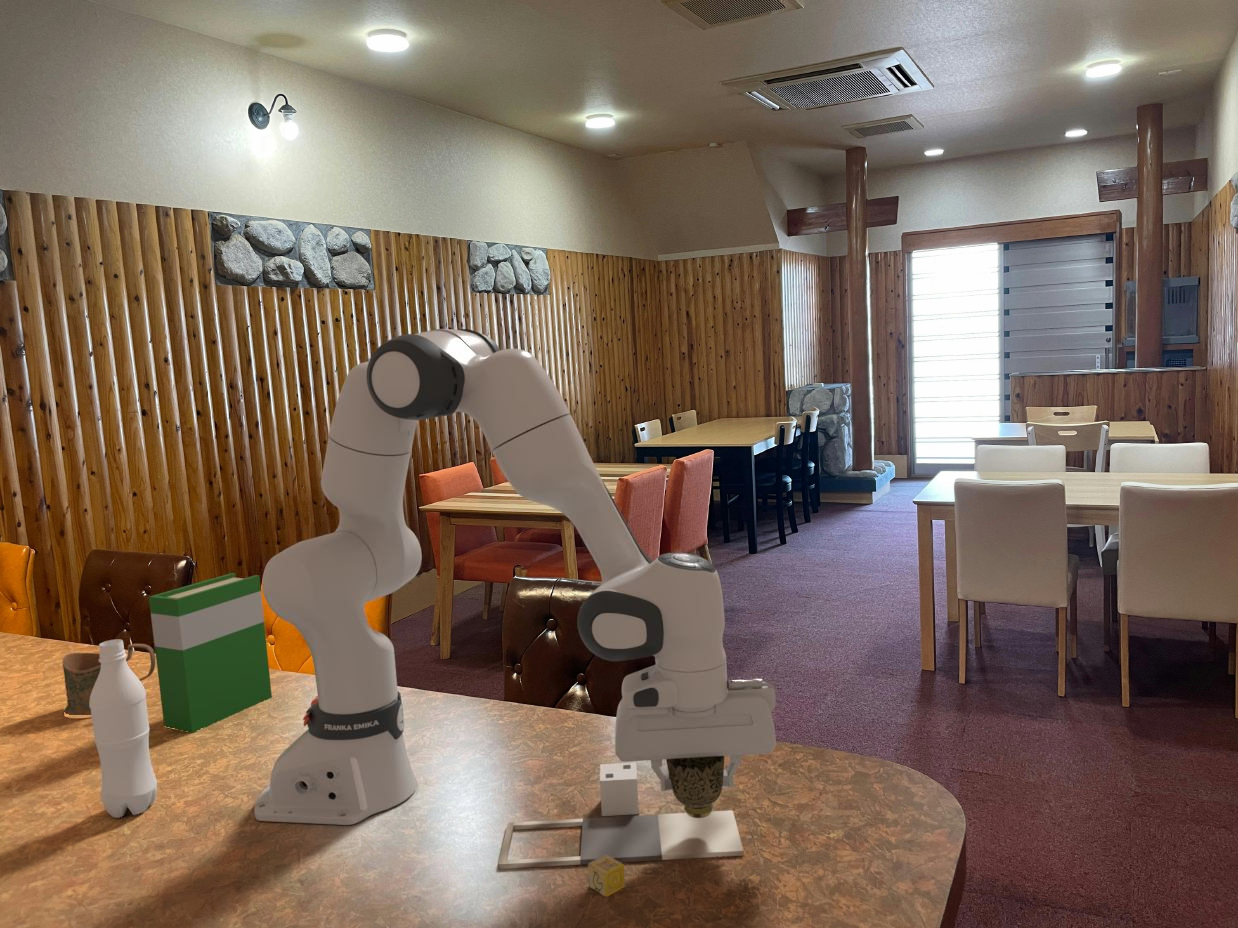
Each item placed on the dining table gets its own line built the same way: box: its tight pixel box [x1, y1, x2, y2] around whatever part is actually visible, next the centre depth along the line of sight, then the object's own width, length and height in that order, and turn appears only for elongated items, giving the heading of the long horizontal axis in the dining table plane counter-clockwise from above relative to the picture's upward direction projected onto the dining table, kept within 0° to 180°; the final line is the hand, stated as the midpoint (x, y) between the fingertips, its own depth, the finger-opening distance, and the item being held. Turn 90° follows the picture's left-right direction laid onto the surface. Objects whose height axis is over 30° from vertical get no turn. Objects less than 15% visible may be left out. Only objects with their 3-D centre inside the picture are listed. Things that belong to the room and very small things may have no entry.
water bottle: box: [89, 638, 158, 819], centre depth 131 cm, size 7×7×25 cm
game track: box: [498, 809, 745, 870], centre depth 116 cm, size 30×10×1 cm, turn 90°
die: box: [599, 761, 640, 817], centre depth 125 cm, size 5×5×5 cm
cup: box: [665, 756, 725, 818], centre depth 116 cm, size 8×7×8 cm
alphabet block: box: [587, 855, 625, 898], centre depth 106 cm, size 3×3×3 cm
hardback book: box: [148, 572, 273, 734], centre depth 168 cm, size 18×7×24 cm, turn 153°
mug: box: [61, 643, 156, 715], centre depth 174 cm, size 12×18×12 cm, turn 89°
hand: (696, 787), depth 116 cm, fingers closed on cup, 6 cm apart
